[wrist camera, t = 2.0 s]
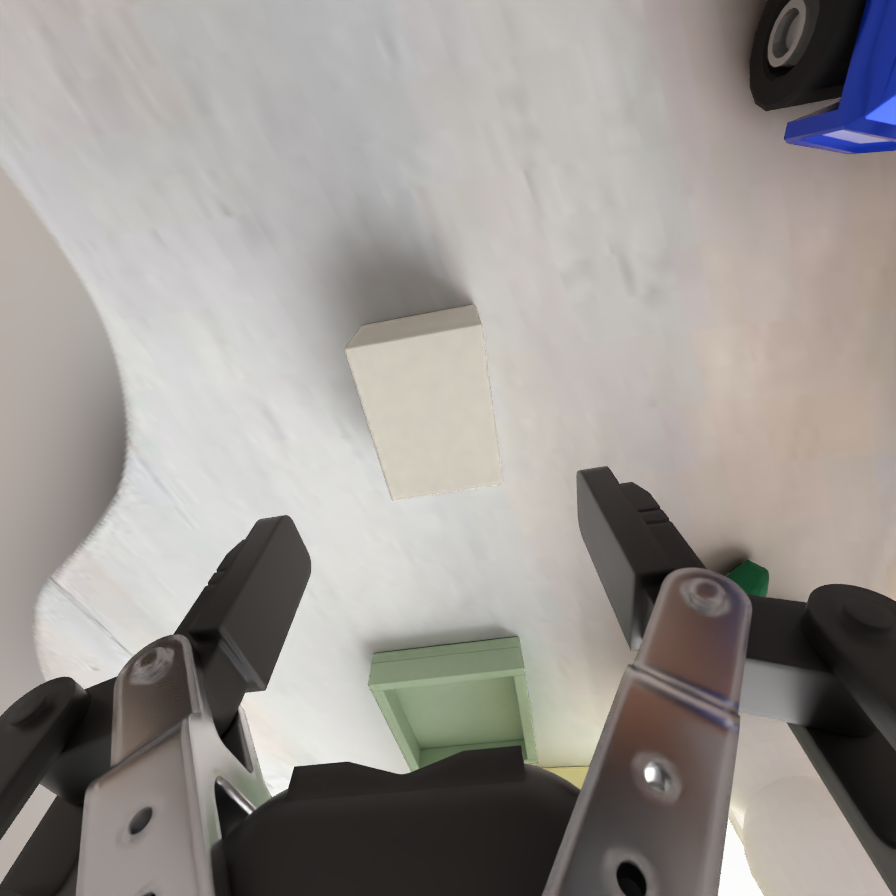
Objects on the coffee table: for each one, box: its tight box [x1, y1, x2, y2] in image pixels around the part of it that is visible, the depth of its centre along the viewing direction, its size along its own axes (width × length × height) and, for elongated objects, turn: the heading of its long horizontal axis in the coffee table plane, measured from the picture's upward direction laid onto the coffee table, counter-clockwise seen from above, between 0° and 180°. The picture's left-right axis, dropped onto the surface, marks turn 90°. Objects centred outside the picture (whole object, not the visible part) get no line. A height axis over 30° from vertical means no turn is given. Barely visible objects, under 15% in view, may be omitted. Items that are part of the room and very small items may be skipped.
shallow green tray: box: [368, 637, 538, 772], centre depth 31 cm, size 14×11×2 cm
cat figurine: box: [728, 711, 893, 896], centre depth 25 cm, size 9×12×15 cm
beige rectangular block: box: [344, 304, 503, 501], centre depth 17 cm, size 7×5×4 cm
